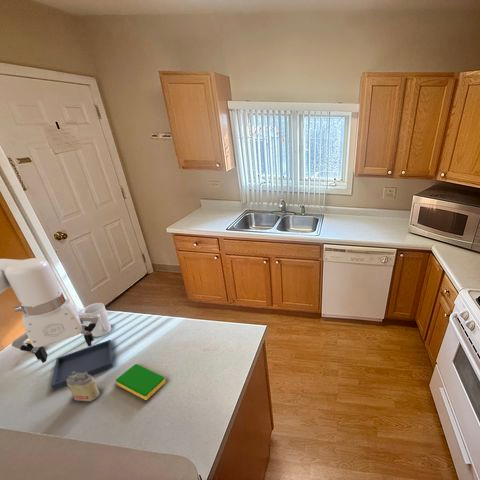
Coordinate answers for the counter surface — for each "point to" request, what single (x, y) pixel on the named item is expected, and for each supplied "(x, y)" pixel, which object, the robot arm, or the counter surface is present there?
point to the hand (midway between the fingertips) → (68, 350)
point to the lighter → (82, 386)
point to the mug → (103, 321)
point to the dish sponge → (140, 381)
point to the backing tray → (83, 362)
